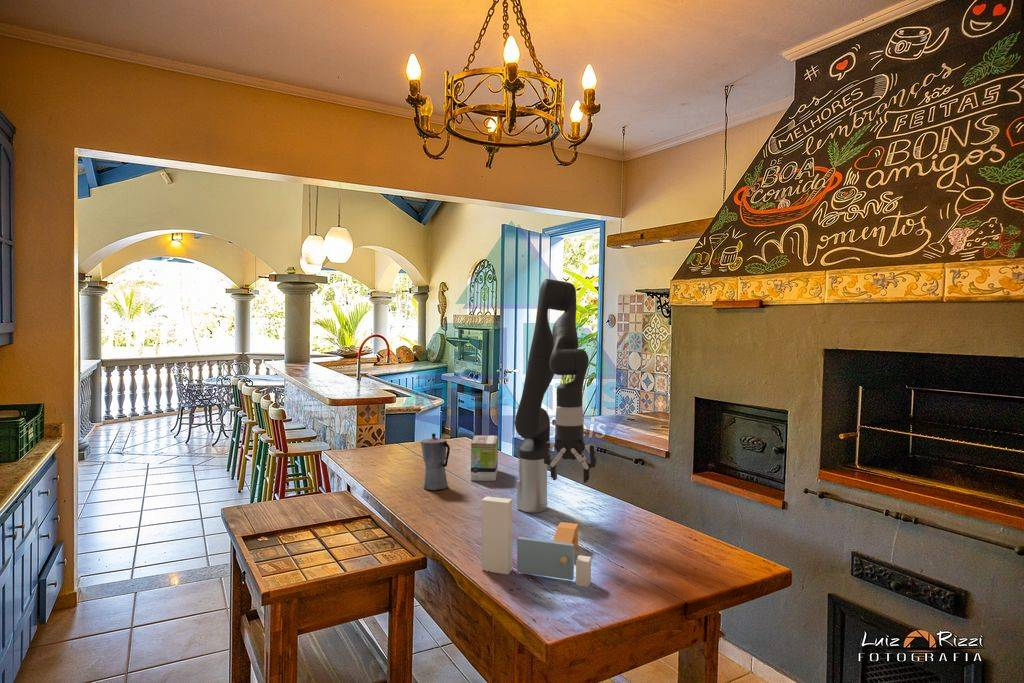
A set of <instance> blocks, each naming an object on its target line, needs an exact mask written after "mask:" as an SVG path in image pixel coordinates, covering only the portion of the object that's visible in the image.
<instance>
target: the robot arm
mask: <svg viewBox="0 0 1024 683" xmlns="http://www.w3.org/2000/svg"><path fill="white" fill-rule="evenodd" d="M538 294H539V295H538V302H537V308H536V316H535V317H536V318H535V323H534V324H535V325H534V330H533V331H534V332H533V336H532V340H531V345H530V349H529V354H528V360H527V367H526V372H525V377H524V382H523V389H522V393H521V398H520V400H519V404H518V407H517V410H516V414H515V417H514V427H515V431H516V433H517V435H518V436H520V437H521V438H523V441H522V443H521V445H520V447H519V448H518V479H517V481H516V509H517V510H518V511H519V510H520V511H521V512H525V513H542V512H545V511H546V510H547V509H548V466H550V477H551V479H552V480H553V481H557V479H558V465H557V464H558V462H559V461H560V460H561V458H562V459H563V460H572V461H575V460H577V461H578V462H579V463H580V464H581V465H582V467H583V468H584V469H583V472H582V473H583V483H584V484H587V483H588V481H589V480H590V479H591V475H590V474H591V469H592V468H593V469H594V468H596V465H597V461H598V460H597V447H596V444H595V443H591V444H585V441H584V440H585V437H584V434H585V433H584V432H585V431H584V429H585V428H584V427H585V426H584V424H585V423H584V422H585V417H584V410H583V388H584V382H585V378H586V375H587V372H588V369H589V368H588V367H589V362H590V359H589V358H590V357H589V355H588V352H586V351H585V350H584V349H581V348H579V345H580V344H579V337H578V332H577V290H576V287H575V285H574V284H573V283H572V282H567V281H563V280H562V281H561V280H557V279H551V278H546V279H543V281H542V283H541V285H540V288H539V293H538ZM549 310H554V311H560V312H563V313H562V314H561V315H560V316H559V317H557V319H556V321H554V323H553V326H552V329H551V327H550V323H549ZM555 375H557V376H574V378H573V379H572V380H571V381H569V382H565V383H561V384H559V385H557V387H556V410H555V442H551V441H550V440H551V439H550V437H551V434H550V433H551V420H550V415H549V414H548V412H547V410H545V409H544V408H543V407H542V404H543V401H544V397H545V395H546V393H547V390H548V388H549V386H550V385H551V382H552V381H553V379H554V376H555ZM553 449H555V450H556V452H557V454H556V456H555V457H554V458H553V459H551V451H553ZM585 450H587V452H588V454H589V460H590V462H589V461H588V459H587V456H585V454H584V453H583V452H584V451H585Z"/></svg>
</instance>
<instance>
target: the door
mask: <svg viewBox="0 0 1024 683" xmlns="http://www.w3.org/2000/svg"><path fill="white" fill-rule="evenodd" d="M516 552H517V553H516V554H517V555H516V556H517V557H516V560H517V561H516V569H517V570H516V572H517V573H522V574H523V573H524V574H530V575H536V576H542V577H549V578H556V579H562V580H563V579H564V580H569V581H574V578H575V572H574V571H575V552H574V544H570V543H563V542H555V541H553V540H546V539H539V538H538V539H537V538H530V537H524V536H518V537H517V539H516Z"/></svg>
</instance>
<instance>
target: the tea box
mask: <svg viewBox="0 0 1024 683" xmlns="http://www.w3.org/2000/svg"><path fill="white" fill-rule="evenodd" d="M498 453H499V436H498V435H481V434H480V435H473V438H472V441H471V443H470V481H473V482H475V481H477V482H480V481H481V482H482V481H483V482H495V481H496V479H497V476H498V470H499V469H498V468H499V467H498V465H499V463H498V461H499V456H498V455H499V454H498Z"/></svg>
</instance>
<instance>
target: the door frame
mask: <svg viewBox="0 0 1024 683" xmlns="http://www.w3.org/2000/svg"><path fill="white" fill-rule="evenodd" d="M482 570H486V571H485V572H488V571H490V573H495V574H496V573H497V574H503V575H510V573H511V572H512V570H513V499H512V498H504V497H494V496H485V497H483V498H482V499H481V571H482ZM591 582H592V556H587V555H581V554H579V555H578V556H577V558H576V559H575V586H580V587H586V588H587V587H590V585H591Z"/></svg>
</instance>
